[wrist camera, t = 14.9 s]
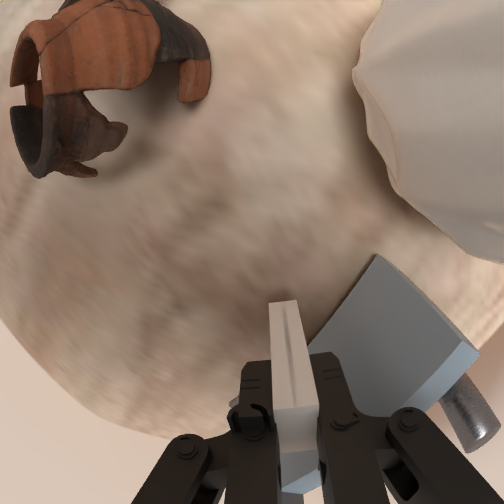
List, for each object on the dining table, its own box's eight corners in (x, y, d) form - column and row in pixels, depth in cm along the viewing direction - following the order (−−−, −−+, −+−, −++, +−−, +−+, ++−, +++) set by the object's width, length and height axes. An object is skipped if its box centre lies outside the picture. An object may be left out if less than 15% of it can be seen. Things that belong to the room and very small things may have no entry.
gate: (267, 416, 18) (266, 520, 10) (248, 410, 18) (241, 517, 10) (397, 267, 14) (491, 367, 6) (377, 254, 14) (474, 355, 6)
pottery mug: (224, 153, 14) (79, 218, 8) (118, 143, 17) (15, 184, 11) (231, -54, 7) (90, -99, 1) (117, -8, 11) (8, -2, 5)
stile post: (376, 330, 16) (441, 459, 7) (417, 291, 15) (511, 401, 6) (401, 355, 17) (459, 466, 7) (438, 320, 16) (515, 420, 6)
